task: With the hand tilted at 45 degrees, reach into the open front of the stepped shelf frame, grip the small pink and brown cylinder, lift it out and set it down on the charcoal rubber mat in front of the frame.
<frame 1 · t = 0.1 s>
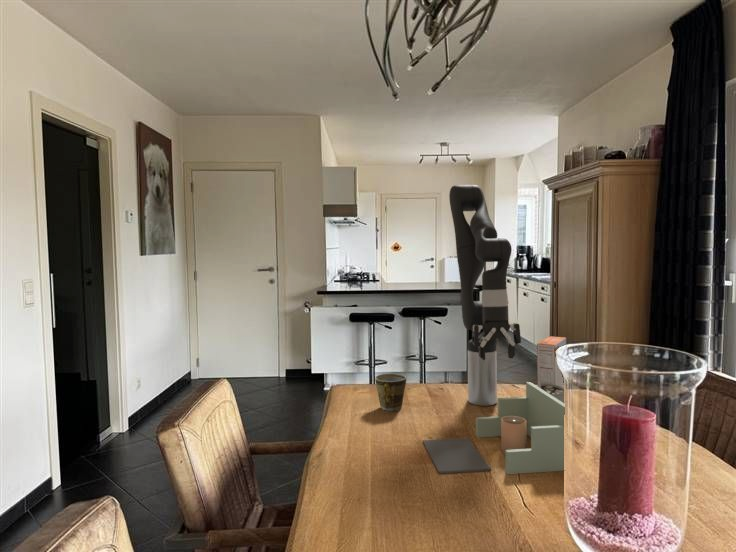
hand: (496, 358, 143), 17 cm above the table, tool pointing down, fingers open, 8 cm apart
pink and brown cylinder: (514, 451, 118), on the table
food container: (555, 424, 137), on the table
ceramic cup: (390, 410, 152), on the table
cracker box: (552, 405, 153), on the table
charcoal mat: (454, 455, 117), on the table
stepped shelf frame: (517, 451, 118), on the table
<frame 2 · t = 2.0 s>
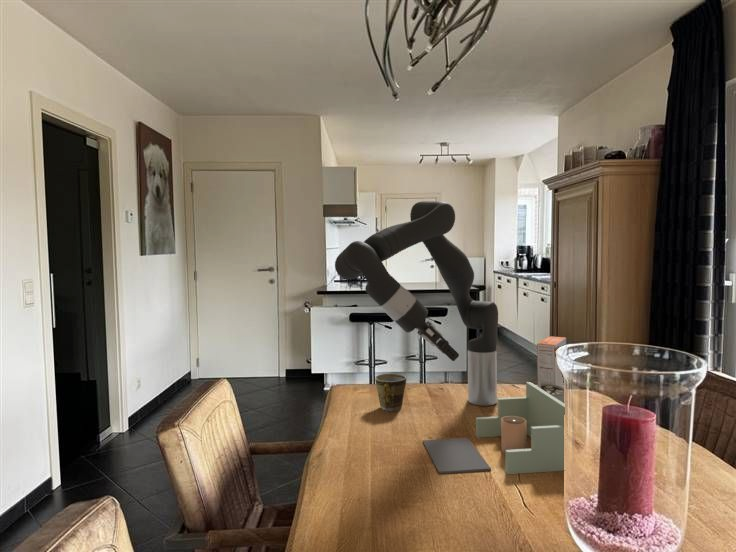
hand: (451, 354, 116), 25 cm above the table, tool tilted 45°, fingers open, 8 cm apart
nothing on the table moved.
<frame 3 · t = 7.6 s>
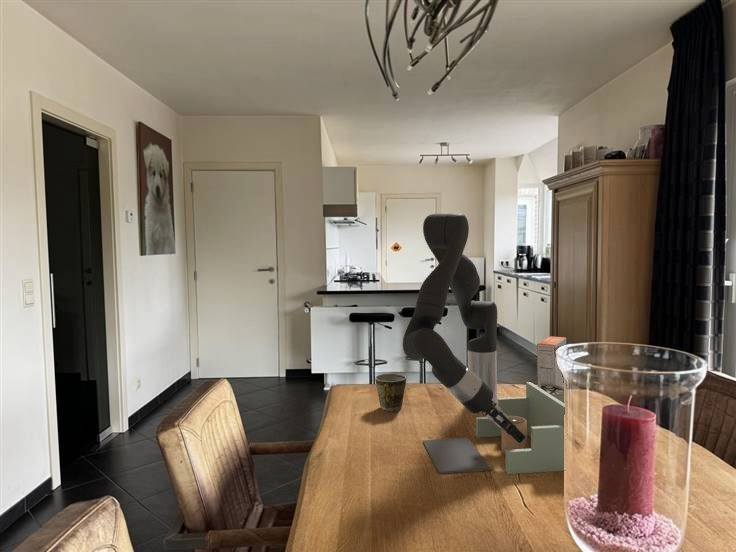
hand: (516, 434, 118), 4 cm above the table, tool tilted 45°, fingers closed on pink and brown cylinder, 6 cm apart
pink and brown cylinder: (514, 451, 118), on the table, touching gripper
everything else where it was.
when the fingers open (6 cm above the table, at t = 14.0 s): pink and brown cylinder drops 1 cm, resting on charcoal mat.
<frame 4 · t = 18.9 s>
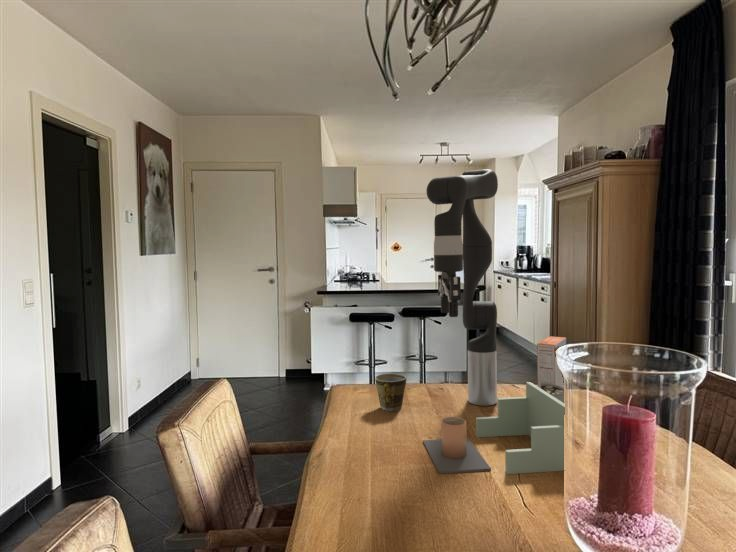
hand: (449, 314, 126), 33 cm above the table, tool pointing down, fingers open, 8 cm apart
pink and brown cylinder: (454, 453, 117), point 1 cm above the table, touching charcoal mat
everything else where it was.
at the end: pink and brown cylinder inside the target area (0.1 cm from its centre), point 0.5 cm above the table; pink and brown cylinder tilted 0°; the gripper is holding nothing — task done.
